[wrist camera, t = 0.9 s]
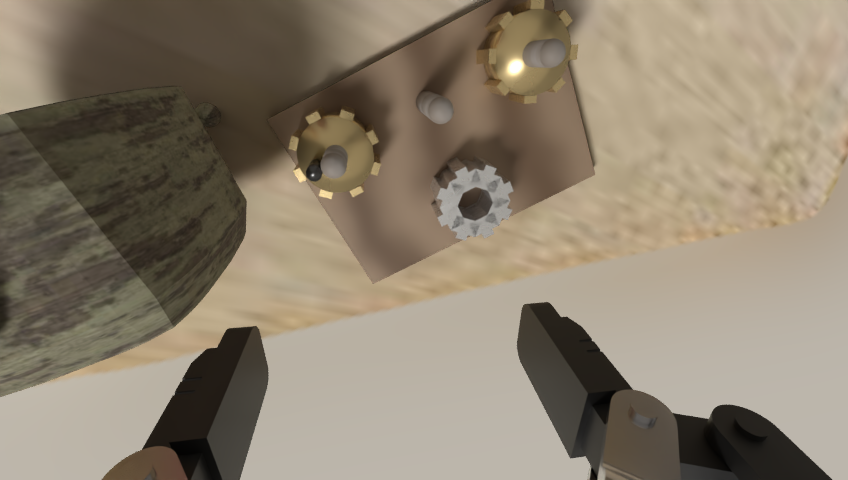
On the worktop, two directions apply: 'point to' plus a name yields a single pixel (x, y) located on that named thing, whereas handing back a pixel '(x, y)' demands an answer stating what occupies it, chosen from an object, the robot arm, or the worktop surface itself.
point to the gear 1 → (335, 132)
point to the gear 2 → (508, 48)
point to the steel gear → (480, 213)
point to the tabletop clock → (107, 227)
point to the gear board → (442, 138)
